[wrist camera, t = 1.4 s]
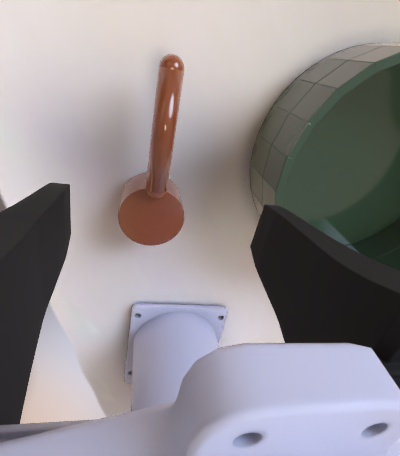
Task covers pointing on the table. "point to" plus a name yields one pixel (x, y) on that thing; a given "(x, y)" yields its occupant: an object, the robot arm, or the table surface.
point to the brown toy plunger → (157, 169)
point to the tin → (338, 150)
